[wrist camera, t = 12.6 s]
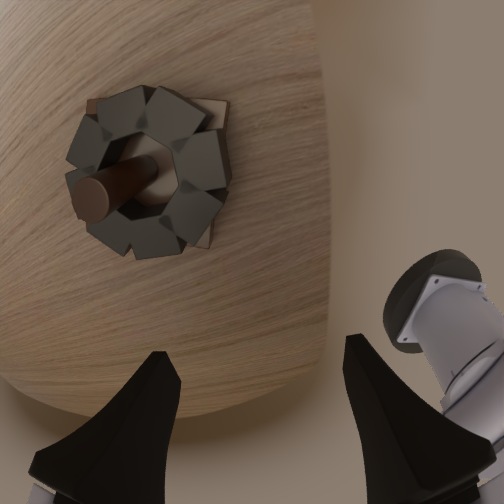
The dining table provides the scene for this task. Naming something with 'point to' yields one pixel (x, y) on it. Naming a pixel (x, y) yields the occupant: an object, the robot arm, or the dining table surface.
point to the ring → (185, 163)
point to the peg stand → (139, 174)
